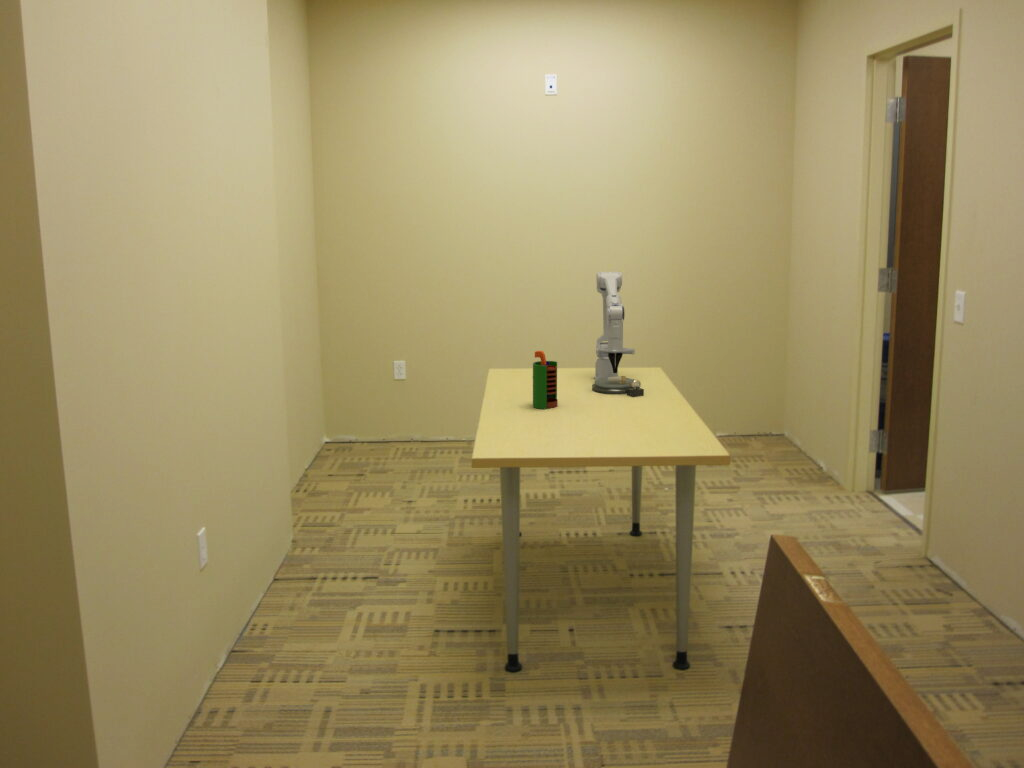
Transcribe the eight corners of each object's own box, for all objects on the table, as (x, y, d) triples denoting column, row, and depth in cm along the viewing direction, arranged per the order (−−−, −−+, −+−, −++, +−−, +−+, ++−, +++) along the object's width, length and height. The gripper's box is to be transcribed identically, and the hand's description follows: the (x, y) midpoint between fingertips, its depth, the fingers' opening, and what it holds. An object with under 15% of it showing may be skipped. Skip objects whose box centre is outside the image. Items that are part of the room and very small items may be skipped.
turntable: (608, 391, 339) (608, 379, 338) (587, 383, 353) (587, 372, 352) (644, 386, 345) (644, 375, 344) (622, 379, 359) (622, 368, 358)
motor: (555, 409, 319) (554, 354, 314) (530, 408, 320) (529, 353, 316) (559, 403, 328) (559, 349, 324) (535, 402, 330) (534, 348, 326)
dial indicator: (624, 394, 340) (624, 379, 338) (635, 393, 342) (635, 377, 341) (632, 397, 335) (633, 381, 334) (643, 395, 338) (643, 379, 336)
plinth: (583, 387, 353) (583, 384, 353) (620, 382, 361) (620, 378, 361) (609, 396, 337) (609, 392, 337) (648, 390, 346) (648, 386, 345)
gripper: (595, 339, 337) (595, 374, 340) (634, 339, 334) (634, 375, 337) (596, 335, 344) (596, 370, 346) (635, 336, 341) (634, 371, 344)
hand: (615, 372), depth 342 cm, fingers closed
